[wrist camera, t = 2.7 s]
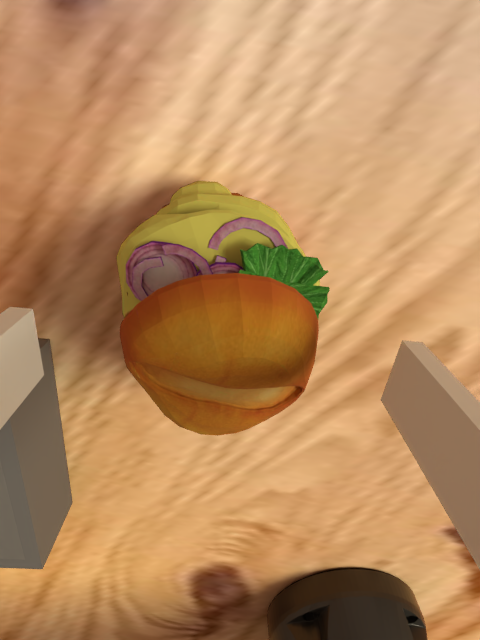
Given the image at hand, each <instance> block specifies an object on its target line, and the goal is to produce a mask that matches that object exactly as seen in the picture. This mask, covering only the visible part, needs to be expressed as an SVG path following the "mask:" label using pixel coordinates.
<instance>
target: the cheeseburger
mask: <svg viewBox="0 0 480 640" xmlns="http://www.w3.org/2000/svg"><path fill="white" fill-rule="evenodd" d="M116 259H117V266H118V272H119V279H120V286H121V292H122V313H123V316H124V320H123V321H122V323H121V326H120V338H121V343H122V348H123V354H124V359H125V363H126V366H127V368H128V369H129V371H130V372H131V373H132V375H133V376H134V377H135V379H136V380H137V381H138V382H139V383H140V385H141V386H142V387H143V388H144V389H145V391H146V392H147V393H148V394H149V396H150V397H151V398H152V400H153V401H154V402H155V404H156V405H157V406H158V407H159V409H160V410H161V411H162V412H163V414H164V415H165V416H167V417H168V418H169V419H170V420H172V421H173V422H174V423H176V424H177V425H178V426H180V427H182V428H185V429H188V430H191V431H194V432H196V433H199V434H205V435H224V434H232V433H237V432H240V431H243V430H246V429H249V428H251V427H253V426H255V425H257V424H259V423H261V422H263V421H265V420H267V419H269V418H270V417H272V416H274V415H276V414H278V413H280V412H281V411H282V410H284V409H285V408H287V407H288V406H290V405H291V404H292V403H293V402H295V401H296V400H297V399H298V398H299V396H300V395H301V394H302V393H303V392H304V390H305V388H306V385H307V383H308V380H309V377H310V374H311V371H312V368H313V365H314V361H315V355H316V348H317V340H318V331H319V330H318V315H319V313H320V312H321V310H322V309H323V307H324V306H325V305H326V303H327V294H328V292H329V287H322V286H320V281H319V279H321V278H322V277H323V276H324V275H325V274H326V273H327V272H328V271H325V270H323V268H322V266H321V264H320V262H319V260H318V258H313V257H306V256H305V254H304V252H303V250H302V249H301V248H300V247H299V246H298V244H297V242H296V239H295V238H294V236H293V234H292V232H291V230H290V228H289V226H288V225H287V224H286V222H285V221H284V220H283V219H282V217H281V216H280V215H279V214H278V212H277V211H276V210H274V209H272V208H271V207H269V206H267V205H265V204H263V203H262V202H260V201H257V200H254V199H250V198H247V197H244V196H242V195H240V194H238V193H231V192H230V191H229V190H228V189H227V188H226V187H224V186H223V185H221V184H219V183H218V182H206V181H197V182H194V183H192V184H189V185H187V186H184V187H181V188H180V189H179V190H178V191H177V192H176V193H175V194H174V195H173V196H172V198H171V200H170V204H168V205H165V206H164V207H163V208H162V209H161V210H159V211H158V212H157V214H156V215H153V216H152V217H151V218H149V219H148V220H146V221H145V222H143V223H142V224H140V225H139V226H138V227H137V228H136V229H135V230H134V231H133V232H132V233H131V234H130V235H129V236H128V237H127V238H126V239H125V241H124V242H123V243H122V244H121V247H120V249H119V252H118V254H117V257H116Z"/></svg>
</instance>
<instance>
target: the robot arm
mask: <svg viewBox="0 0 480 640" xmlns="http://www.w3.org/2000/svg"><path fill="white" fill-rule="evenodd" d="M43 376H44V371H43V365H42V359H41V353H40V347H39V342H38V336H37V330H36V324H35V318H34V312H33V309H29V308H18V307H9V308H7V309H6V310H5V311H3V312H2V313H1V314H0V429H1V428H2V427H3V426H4V424H5V423H6V422H7V421H8V419H9V418H10V417H11V416H12V414H13V413H14V412H15V411H16V409H17V408H18V407H19V406H20V404H21V403H22V402H23V401H24V399H25V398H26V397H27V396H28V394H29V393H30V392H31V391H32V389H33V388H34V387H35V386H36V384H37V383H38V382H39V381H40V379H41V378H42V377H43ZM381 401H382V403H383V404H384V406H385V408H386V409H387V411H388V413H389V415H390V416H391V418H392V420H393V421H394V423H395V425H396V427H397V428H398V430H399V432H400V433H401V435H402V437H403V439H404V440H405V442H406V444H407V446H408V447H409V449H410V451H411V452H412V454H413V456H414V458H415V459H416V461H417V463H418V464H419V466H420V468H421V470H422V471H423V473H424V475H425V476H426V478H427V480H428V482H429V483H430V485H431V487H432V488H433V490H434V492H435V494H436V495H437V497H438V499H439V500H440V502H441V504H442V506H443V507H444V509H445V511H446V513H447V514H448V516H449V518H450V519H451V521H452V523H453V525H454V526H455V528H456V530H457V531H458V533H459V535H460V537H461V538H462V540H463V542H464V543H465V545H466V547H467V549H468V550H469V552H470V554H471V555H472V557H473V559H474V561H475V562H476V564H477V566H478V568H479V569H480V402H479V401H478V400H477V399H476V398H475V397H474V396H473V395H472V394H471V393H470V392H469V391H468V390H467V389H466V388H465V386H464V385H463V384H462V383H461V382H460V381H459V380H458V379H457V378H456V377H455V376H454V375H453V374H452V373H451V372H450V371H449V370H448V369H447V368H446V367H445V366H444V364H443V363H442V362H441V361H440V360H439V359H438V358H437V357H436V356H435V355H434V354H433V353H432V352H431V351H430V350H429V349H428V348H427V347H426V346H425V345H424V344H423V343H422V342H413V341H402V343H401V345H400V348H399V351H398V354H397V356H396V359H395V362H394V365H393V368H392V370H391V373H390V376H389V379H388V381H387V384H386V387H385V390H384V392H383V395H382V398H381ZM267 621H268V633H269V640H427V633H426V626H425V622H424V618H423V615H422V613H421V610H420V608H419V605H418V603H417V601H416V598H415V596H414V593H413V591H412V590H411V589H410V587H409V586H408V585H407V584H406V583H404V582H403V581H401V580H400V579H398V578H396V577H394V576H392V575H389V574H386V573H382V572H378V571H372V570H363V569H345V570H335V571H329V572H324V573H320V574H316V575H313V576H310V577H307V578H305V579H302V580H300V581H298V582H296V583H294V584H292V585H290V586H289V587H287V588H286V589H284V590H283V591H282V592H281V593H280V594H279V595H277V597H276V598H275V599H274V600H273V601H272V603H271V605H270V607H269V609H268V613H267Z"/></svg>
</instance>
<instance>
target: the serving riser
mask: <svg viewBox="0 0 480 640" xmlns="http://www.w3.org/2000/svg"><path fill="white" fill-rule="evenodd" d="M38 342H39V347H40V353H41V359H42V365H43V371H44V376H43V377H42V378H41V379H40V381H39V382H38V383H37V384H36V386H35V387H34V388H33V389H32V391H31V392H30V393H29V394H28V396H27V397H26V398H25V399H24V401H23V402H22V403H21V404H20V406H19V407H18V408H17V409H16V411H15V412H14V413H13V414H12V416H11V417H10V418H9V419H8V421H7V422H6V423H5V424H4V426H3V427H2V428H1V429H0V568H25V569H43V567H44V565H45V563H46V560H47V558H48V556H49V554H50V552H51V549H52V547H53V545H54V543H55V540H56V538H57V536H58V534H59V531H60V529H61V527H62V525H63V523H64V520H65V518H66V516H67V514H68V511H69V509H70V507H71V505H72V496H71V489H70V482H69V475H68V467H67V460H66V453H65V446H64V439H63V432H62V425H61V418H60V410H59V403H58V396H57V389H56V382H55V375H54V368H53V361H52V353H51V346H50V340H49V339H38Z"/></svg>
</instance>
